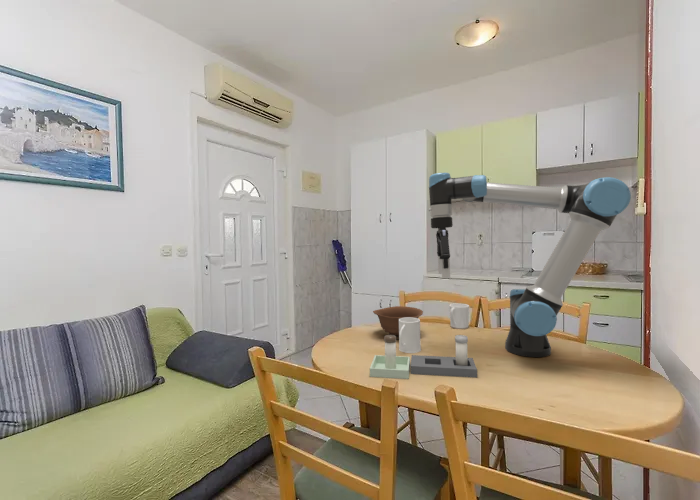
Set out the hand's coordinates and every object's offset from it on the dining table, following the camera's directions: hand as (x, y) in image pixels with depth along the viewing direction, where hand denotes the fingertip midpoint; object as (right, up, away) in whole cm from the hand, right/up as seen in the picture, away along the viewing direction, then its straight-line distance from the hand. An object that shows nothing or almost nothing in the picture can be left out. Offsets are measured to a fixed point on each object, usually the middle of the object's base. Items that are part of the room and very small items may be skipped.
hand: (444, 275), depth 125 cm
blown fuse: (-21, -30, -12) cm, 38 cm away
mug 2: (+17, -27, +38) cm, 50 cm away
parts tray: (-21, -31, -12) cm, 39 cm away
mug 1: (-12, -30, +6) cm, 33 cm away
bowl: (-13, -29, +28) cm, 42 cm away
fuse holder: (-4, -30, -13) cm, 33 cm away
